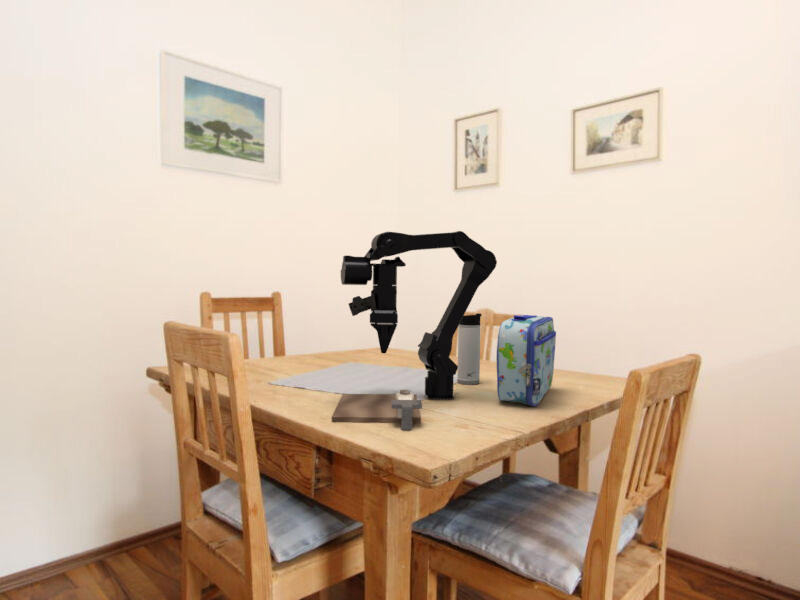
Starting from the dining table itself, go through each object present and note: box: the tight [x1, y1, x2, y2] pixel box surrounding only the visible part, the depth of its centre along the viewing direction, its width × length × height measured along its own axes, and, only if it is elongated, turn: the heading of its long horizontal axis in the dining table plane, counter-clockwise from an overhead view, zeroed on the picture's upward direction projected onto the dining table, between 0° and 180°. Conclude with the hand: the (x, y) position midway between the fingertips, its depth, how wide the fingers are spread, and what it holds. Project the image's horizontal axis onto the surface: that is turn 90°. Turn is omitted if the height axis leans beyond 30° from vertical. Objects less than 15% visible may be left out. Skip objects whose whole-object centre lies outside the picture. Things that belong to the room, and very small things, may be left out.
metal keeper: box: [391, 399, 423, 431], centre depth 97 cm, size 6×6×4 cm
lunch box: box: [496, 314, 557, 407], centre depth 123 cm, size 26×11×21 cm, turn 153°
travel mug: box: [456, 312, 482, 386], centre depth 140 cm, size 6×7×20 cm
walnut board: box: [331, 389, 422, 424], centre depth 110 cm, size 18×21×4 cm
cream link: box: [395, 391, 415, 418], centre depth 106 cm, size 15×4×2 cm, turn 179°
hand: (383, 350), depth 118 cm, fingers open, 9 cm apart
